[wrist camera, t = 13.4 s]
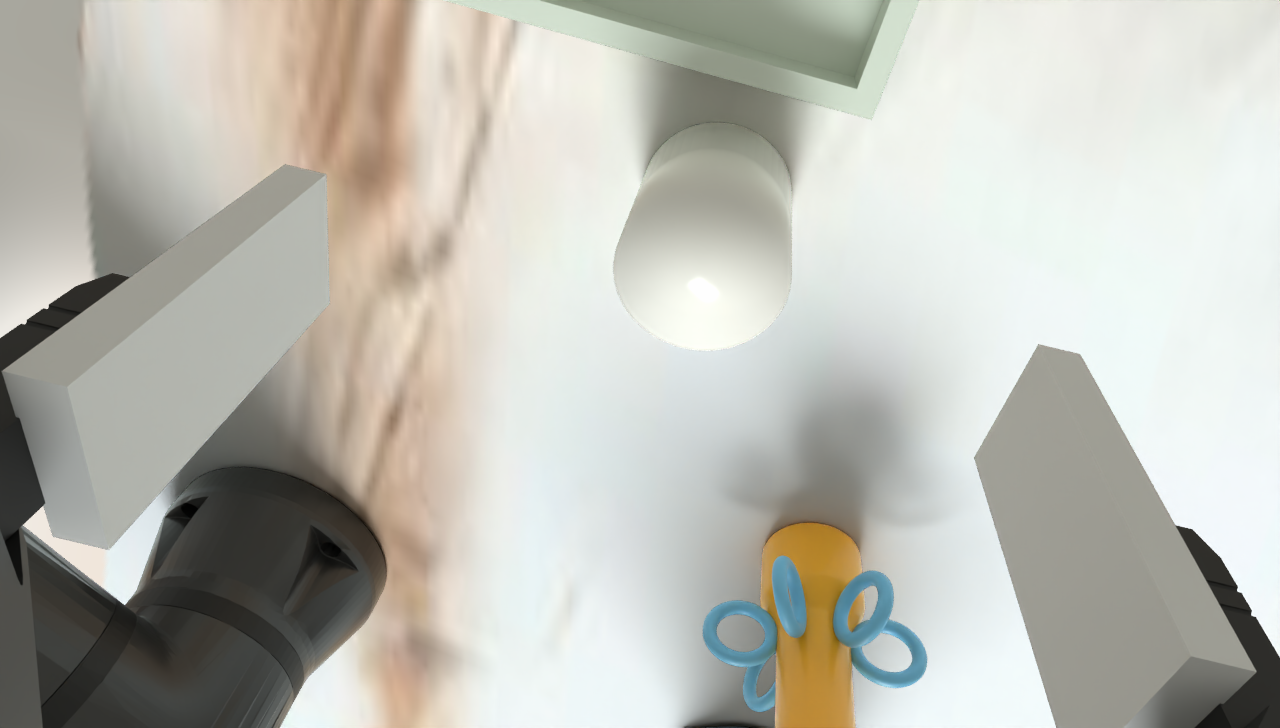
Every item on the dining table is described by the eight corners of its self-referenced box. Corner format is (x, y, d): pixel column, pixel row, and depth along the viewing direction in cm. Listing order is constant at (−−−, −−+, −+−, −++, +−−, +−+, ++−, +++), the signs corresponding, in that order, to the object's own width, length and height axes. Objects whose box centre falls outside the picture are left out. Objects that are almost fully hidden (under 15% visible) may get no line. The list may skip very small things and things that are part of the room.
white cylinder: (628, 240, 41) (597, 324, 35) (662, 103, 37) (634, 170, 31) (764, 278, 41) (759, 369, 35) (813, 146, 37) (817, 221, 31)
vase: (808, 454, 47) (814, 687, 35) (946, 542, 49) (998, 791, 37) (684, 565, 54) (653, 793, 41) (811, 638, 56) (817, 876, 44)
